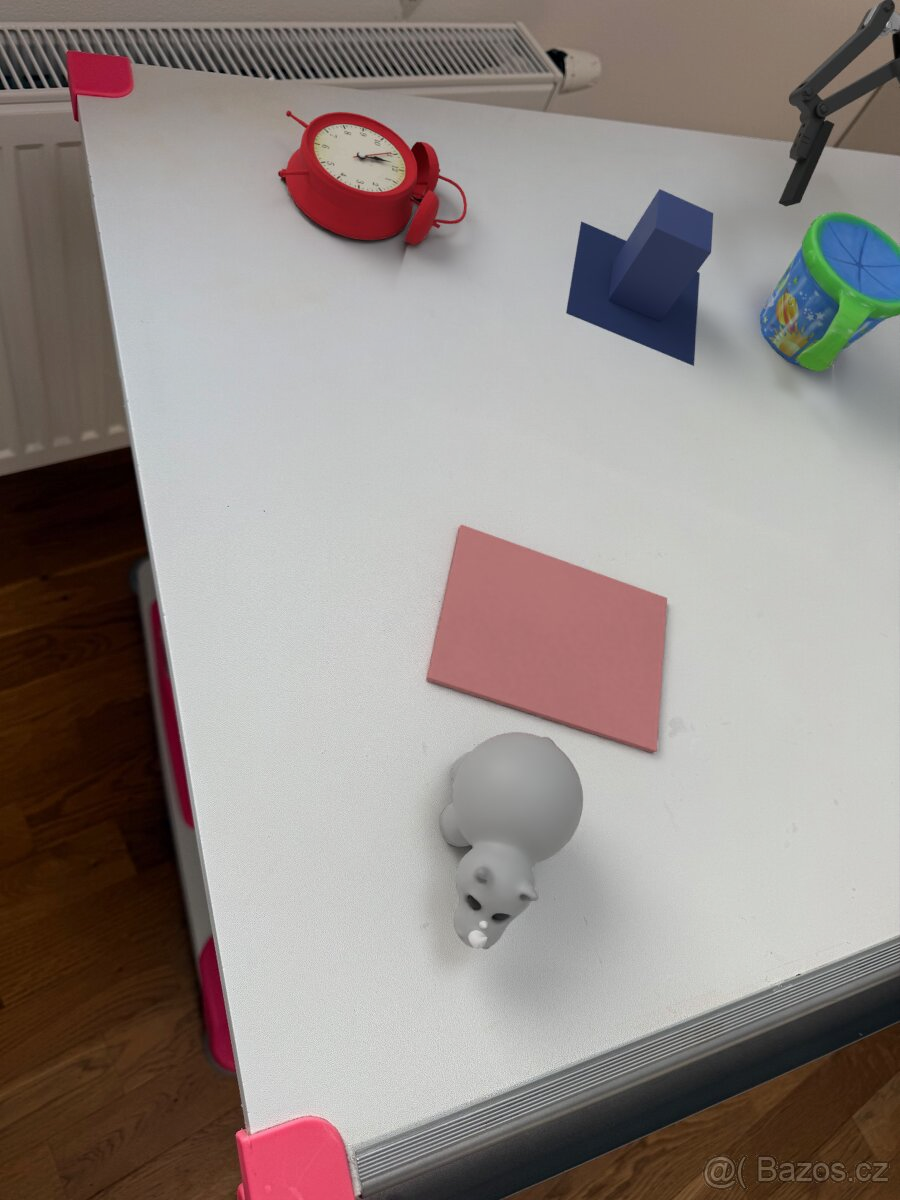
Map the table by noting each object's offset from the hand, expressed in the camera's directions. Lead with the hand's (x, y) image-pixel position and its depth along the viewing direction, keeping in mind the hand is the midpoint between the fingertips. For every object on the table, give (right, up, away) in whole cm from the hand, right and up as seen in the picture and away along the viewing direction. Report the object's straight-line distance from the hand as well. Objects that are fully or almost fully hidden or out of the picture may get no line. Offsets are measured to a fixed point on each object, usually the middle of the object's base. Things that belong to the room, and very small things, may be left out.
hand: (856, 235), depth 84 cm
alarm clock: (-42, +1, -5) cm, 42 cm away
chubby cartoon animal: (-34, -47, -27) cm, 64 cm away
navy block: (-19, -5, +1) cm, 19 cm away
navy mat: (-19, -5, +1) cm, 20 cm away
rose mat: (-28, -34, -18) cm, 48 cm away
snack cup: (-4, -8, +6) cm, 10 cm away
